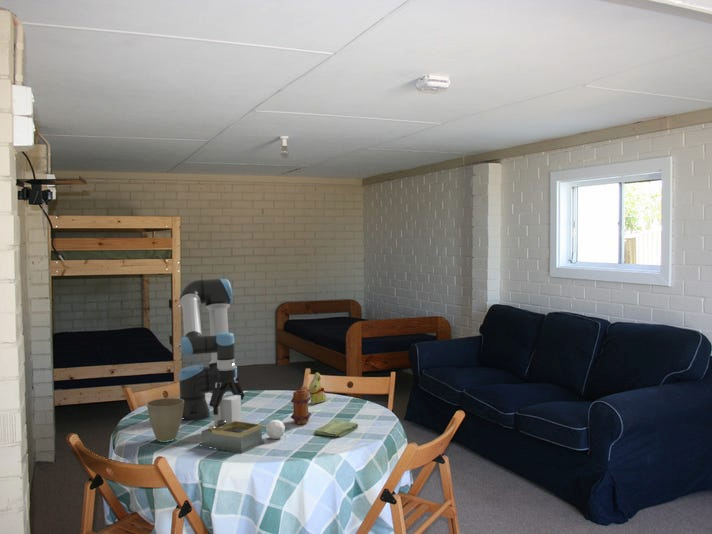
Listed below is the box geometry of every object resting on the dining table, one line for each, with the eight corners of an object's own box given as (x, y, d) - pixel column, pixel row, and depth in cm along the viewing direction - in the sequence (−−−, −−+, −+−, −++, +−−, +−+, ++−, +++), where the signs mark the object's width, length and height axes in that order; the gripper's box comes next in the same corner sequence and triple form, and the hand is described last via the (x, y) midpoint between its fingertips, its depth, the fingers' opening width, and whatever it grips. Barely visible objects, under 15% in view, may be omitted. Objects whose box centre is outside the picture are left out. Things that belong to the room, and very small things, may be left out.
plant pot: (165, 447, 272) (164, 408, 271) (140, 442, 280) (138, 404, 279) (193, 437, 285) (191, 400, 284) (168, 433, 293) (166, 396, 292)
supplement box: (242, 429, 296) (241, 394, 295) (232, 434, 287) (231, 399, 287) (224, 427, 299) (223, 393, 298) (213, 433, 290) (212, 398, 290)
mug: (307, 426, 298) (306, 392, 297) (289, 425, 299) (288, 391, 298) (315, 417, 312) (314, 384, 311) (298, 416, 314) (297, 384, 313)
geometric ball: (274, 443, 283) (277, 425, 288) (287, 439, 278) (290, 421, 283) (260, 437, 279) (263, 419, 283) (273, 433, 274) (276, 415, 278)
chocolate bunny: (305, 404, 337) (305, 374, 337) (321, 399, 346) (320, 370, 345) (315, 406, 333) (314, 375, 332) (331, 401, 341) (330, 371, 340)
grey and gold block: (199, 446, 273) (198, 426, 272) (223, 436, 285) (222, 417, 285) (241, 453, 262) (241, 432, 262) (264, 443, 275) (264, 423, 274)
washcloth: (312, 435, 285) (311, 428, 285) (335, 425, 300) (335, 418, 300) (338, 439, 278) (338, 432, 278) (360, 429, 293) (360, 421, 293)
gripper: (213, 374, 279) (215, 426, 280) (251, 364, 301) (253, 412, 302) (199, 373, 283) (201, 424, 284) (238, 363, 305) (239, 410, 305)
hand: (228, 418), depth 293 cm, fingers open, 13 cm apart
